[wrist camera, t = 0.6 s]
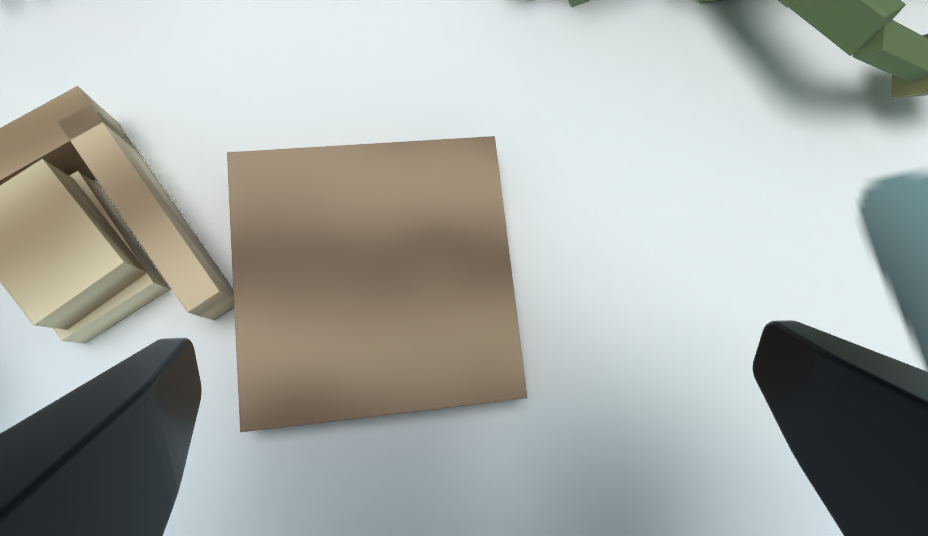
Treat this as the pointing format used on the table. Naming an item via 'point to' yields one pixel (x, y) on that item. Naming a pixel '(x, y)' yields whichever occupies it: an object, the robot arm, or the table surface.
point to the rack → (118, 190)
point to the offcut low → (130, 296)
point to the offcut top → (59, 249)
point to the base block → (371, 281)
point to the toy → (868, 37)
